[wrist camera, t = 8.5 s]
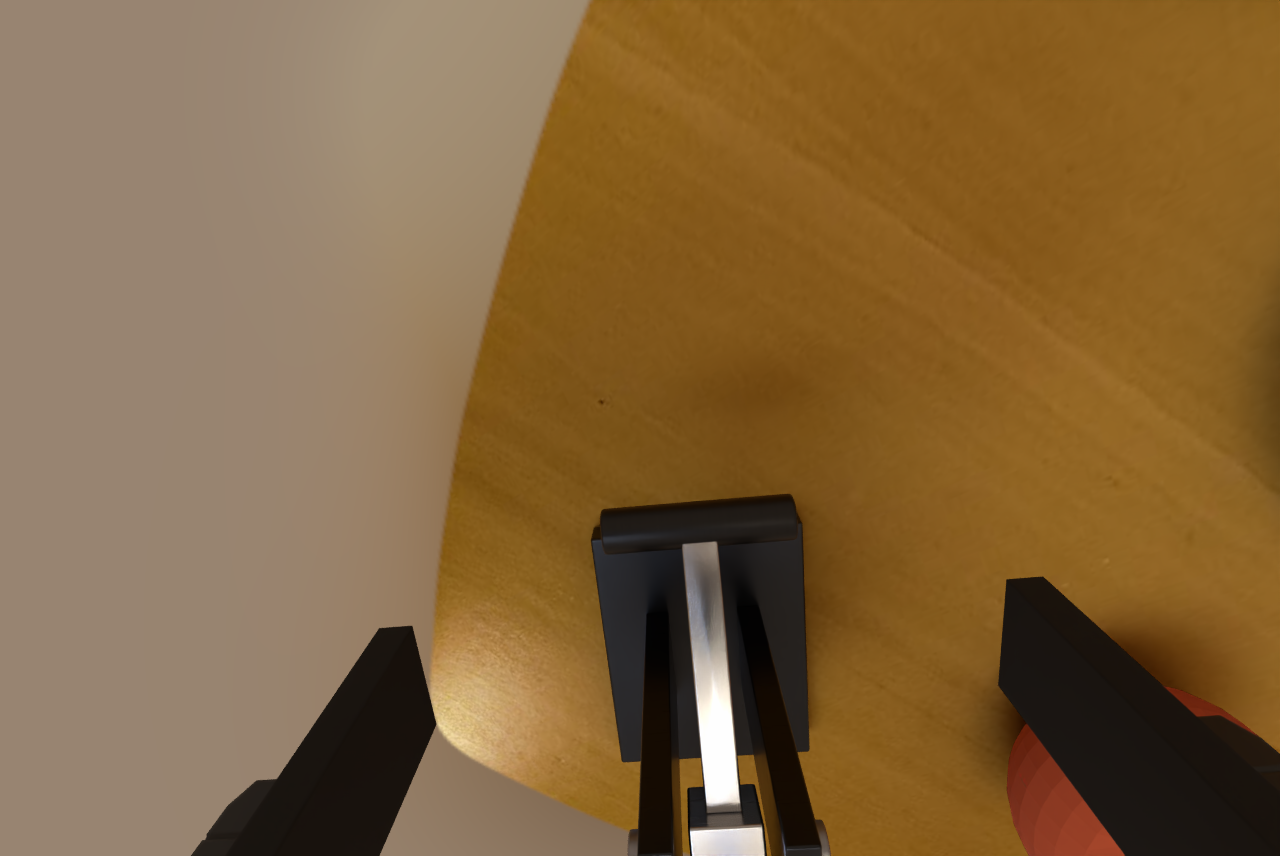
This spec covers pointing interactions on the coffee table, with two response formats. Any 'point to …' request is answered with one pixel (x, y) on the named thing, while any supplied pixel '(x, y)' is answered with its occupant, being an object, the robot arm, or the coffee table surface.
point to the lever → (709, 645)
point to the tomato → (1064, 797)
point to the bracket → (665, 694)
